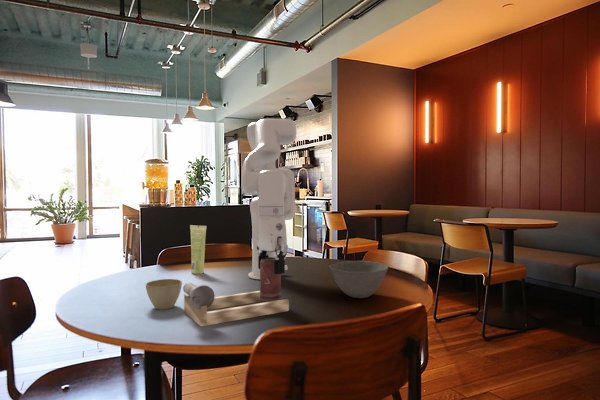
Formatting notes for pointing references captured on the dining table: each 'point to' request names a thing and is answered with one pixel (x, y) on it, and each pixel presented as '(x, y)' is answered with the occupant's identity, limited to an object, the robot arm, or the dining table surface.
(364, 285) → the bowl
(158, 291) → the flower pot
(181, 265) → the dining table surface
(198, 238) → the tube
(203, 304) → the bay
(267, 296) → the can
